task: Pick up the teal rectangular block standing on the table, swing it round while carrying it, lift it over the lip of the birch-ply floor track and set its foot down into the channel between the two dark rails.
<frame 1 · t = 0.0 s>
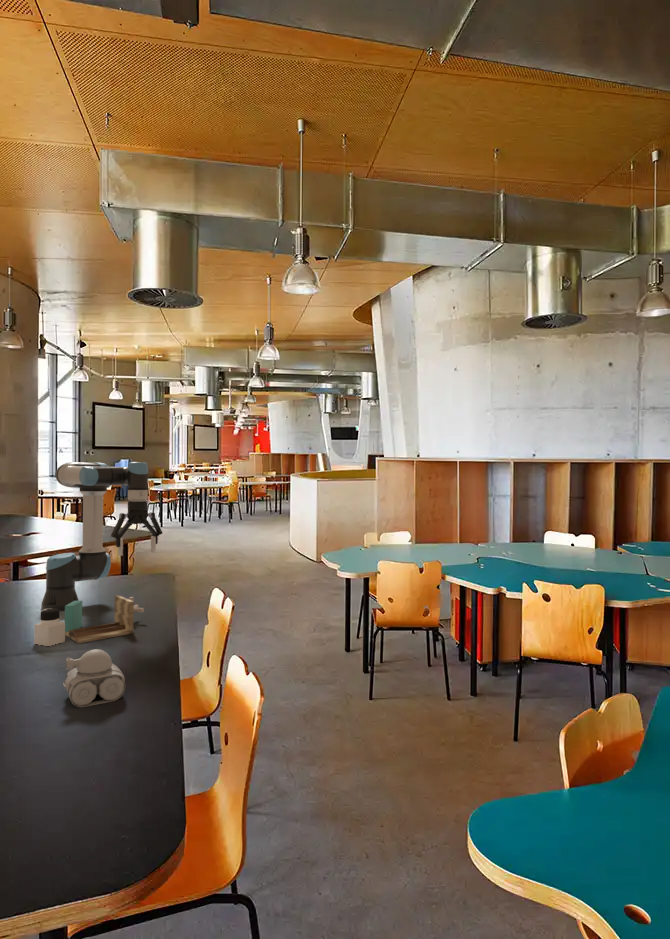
hand: (137, 553, 231), 28 cm above the table, fingers open, 13 cm apart
teal rectangular block: (73, 629, 223), on the table
toy tank: (93, 698, 156), on the table
medicine bottle: (49, 643, 205), on the table
pipe connector: (131, 622, 234), on the table
track: (99, 634, 217), on the table
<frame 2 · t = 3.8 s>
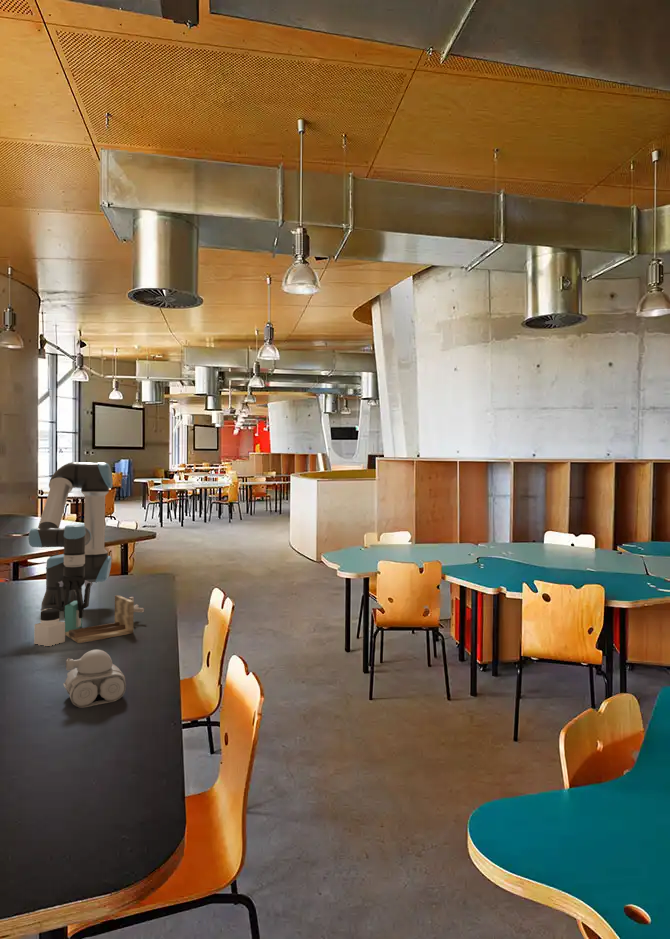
hand: (73, 626, 223), 1 cm above the table, fingers closed on teal rectangular block, 3 cm apart
teal rectangular block: (73, 629, 223), on the table, touching gripper
everything else where it was.
when the fingers open (3 cm above the table, at t = 7.6 s): teal rectangular block drops 1 cm, resting on track.
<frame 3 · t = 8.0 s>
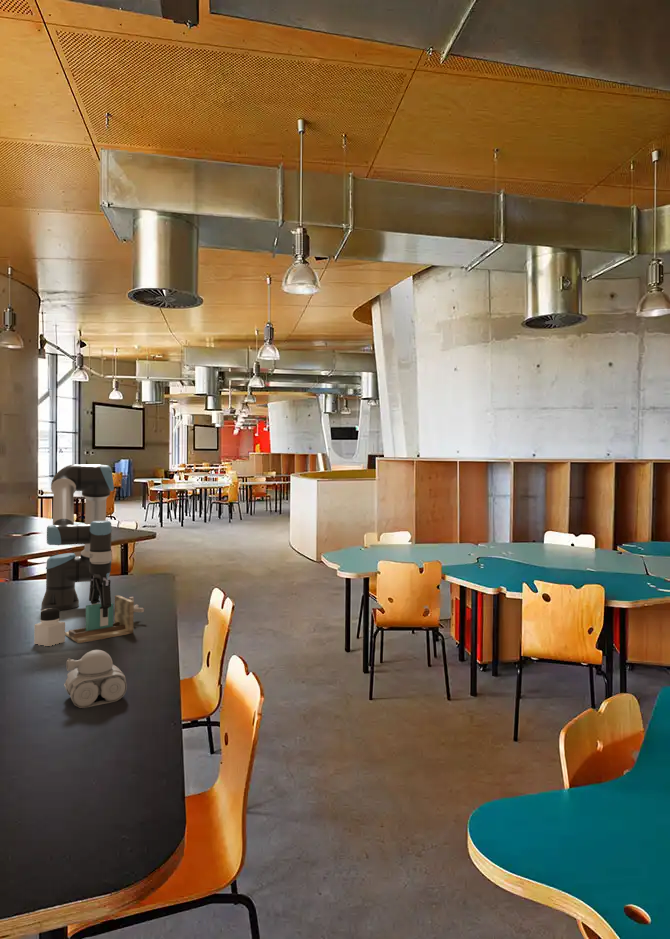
hand: (99, 623, 217), 4 cm above the table, fingers open, 8 cm apart
teal rectangular block: (99, 631, 217), point 1 cm above the table, touching track
everything else where it was.
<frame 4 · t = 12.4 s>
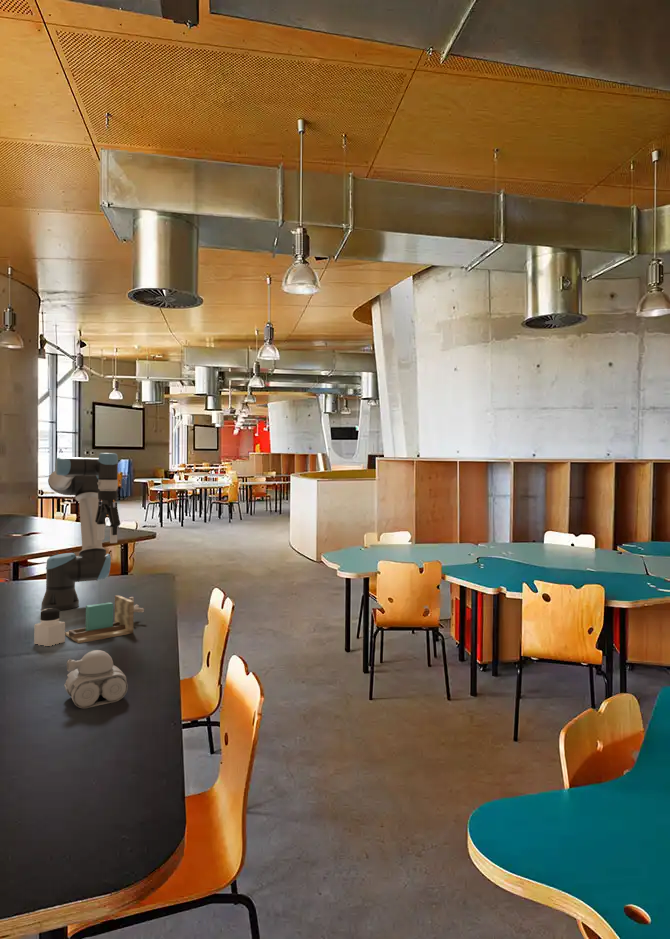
hand: (107, 541, 241), 32 cm above the table, fingers open, 13 cm apart
nothing on the table moved.
at the end: teal rectangular block inside the target area on the track (1.8 cm from its centre), point 1.0 cm above the track's base; teal rectangular block tilted 0°; the gripper is holding nothing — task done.
